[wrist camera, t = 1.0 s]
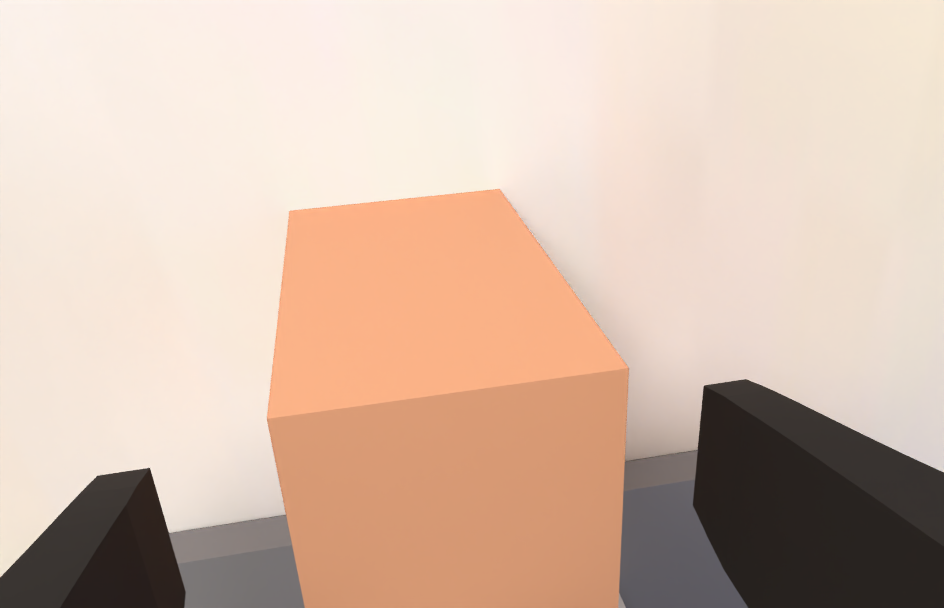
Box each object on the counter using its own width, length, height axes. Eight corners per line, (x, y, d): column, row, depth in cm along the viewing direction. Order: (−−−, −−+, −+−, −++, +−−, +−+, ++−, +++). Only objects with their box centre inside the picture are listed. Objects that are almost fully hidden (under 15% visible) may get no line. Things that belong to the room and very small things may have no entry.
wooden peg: (499, 188, 15) (629, 368, 9) (506, 367, 17) (617, 623, 10) (289, 210, 14) (267, 418, 8) (318, 392, 16) (319, 679, 10)
